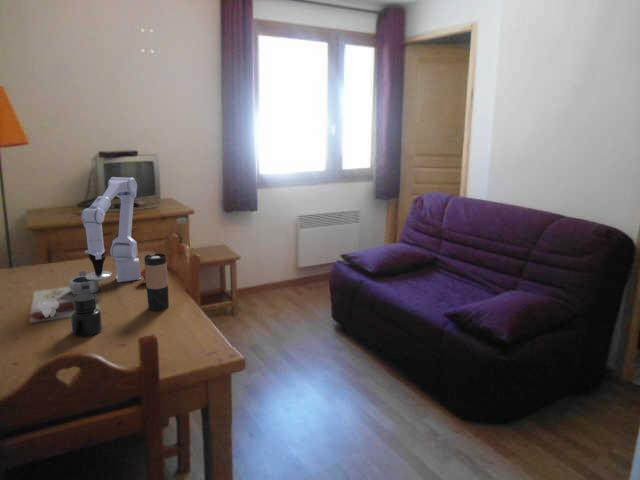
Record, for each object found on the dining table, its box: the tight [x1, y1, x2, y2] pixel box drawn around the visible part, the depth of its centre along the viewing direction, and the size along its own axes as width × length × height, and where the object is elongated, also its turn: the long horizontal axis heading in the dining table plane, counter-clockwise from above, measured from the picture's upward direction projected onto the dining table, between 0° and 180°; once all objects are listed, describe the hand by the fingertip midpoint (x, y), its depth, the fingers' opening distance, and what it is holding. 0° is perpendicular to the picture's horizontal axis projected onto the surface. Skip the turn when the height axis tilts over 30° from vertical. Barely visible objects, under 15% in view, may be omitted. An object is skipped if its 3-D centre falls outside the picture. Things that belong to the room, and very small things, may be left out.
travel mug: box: [143, 253, 170, 312], centre depth 185 cm, size 8×8×20 cm
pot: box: [69, 270, 100, 296], centre depth 204 cm, size 10×20×5 cm, turn 28°
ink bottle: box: [70, 293, 103, 337], centre depth 165 cm, size 10×9×12 cm
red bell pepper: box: [139, 267, 146, 284], centre depth 213 cm, size 7×7×10 cm
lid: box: [85, 270, 113, 282], centre depth 197 cm, size 10×10×5 cm
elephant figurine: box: [37, 299, 60, 318], centre depth 178 cm, size 7×8×6 cm
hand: (98, 272), depth 197 cm, fingers closed on lid, 2 cm apart
